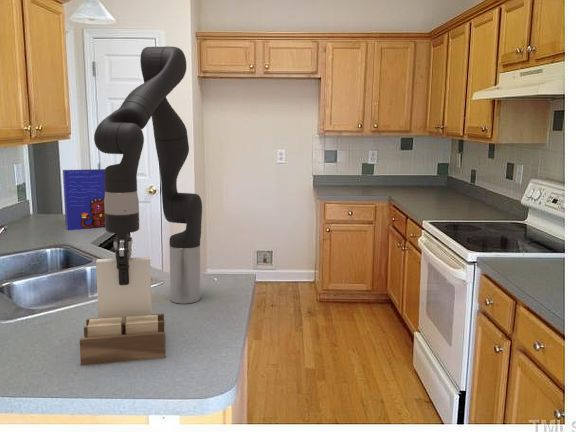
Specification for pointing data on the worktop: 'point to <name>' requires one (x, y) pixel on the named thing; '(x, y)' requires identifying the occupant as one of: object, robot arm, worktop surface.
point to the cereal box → (84, 198)
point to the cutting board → (123, 289)
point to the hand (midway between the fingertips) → (124, 282)
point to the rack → (123, 346)
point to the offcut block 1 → (105, 327)
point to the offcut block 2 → (142, 324)
